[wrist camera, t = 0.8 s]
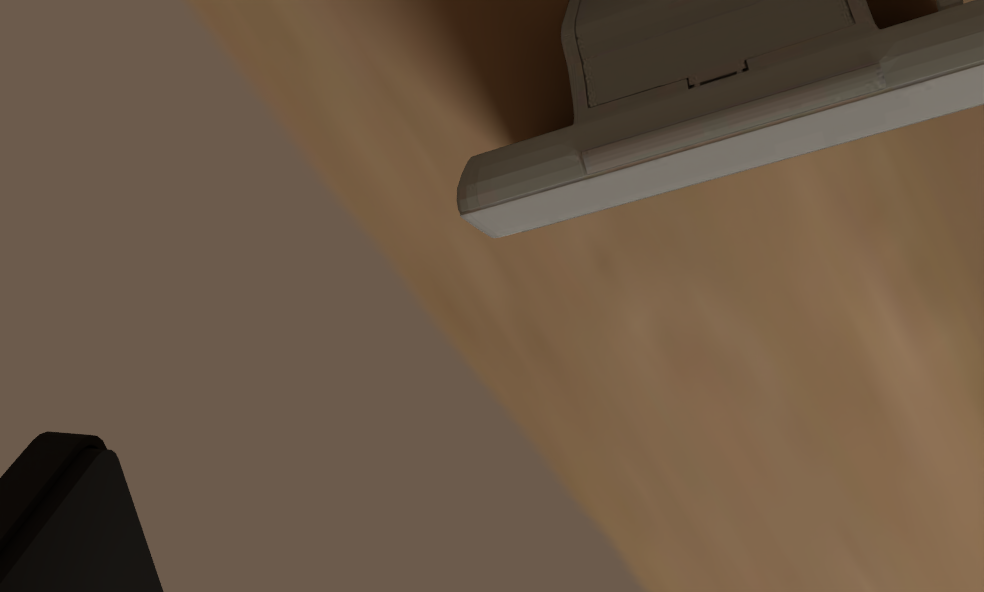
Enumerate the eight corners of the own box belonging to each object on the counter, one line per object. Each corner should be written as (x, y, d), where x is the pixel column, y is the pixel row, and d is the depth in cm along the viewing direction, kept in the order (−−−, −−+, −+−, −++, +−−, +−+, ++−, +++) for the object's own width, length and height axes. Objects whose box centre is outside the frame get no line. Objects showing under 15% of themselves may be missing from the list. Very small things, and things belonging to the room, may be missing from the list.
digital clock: (519, 189, 37) (477, 339, 28) (479, -41, 33) (414, 50, 24) (955, 148, 34) (1064, 304, 25) (978, -117, 29) (1122, -43, 20)
